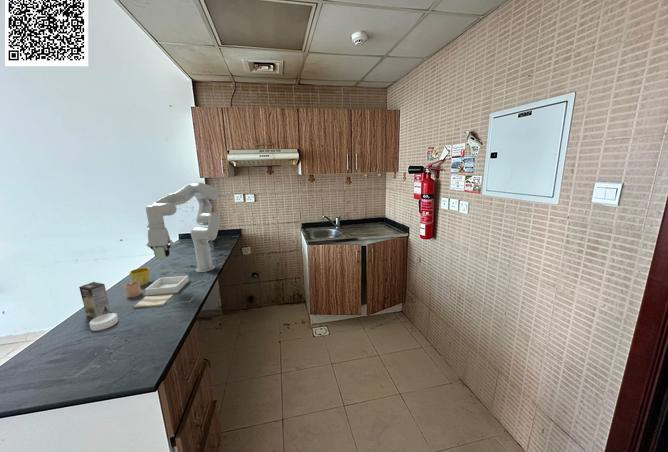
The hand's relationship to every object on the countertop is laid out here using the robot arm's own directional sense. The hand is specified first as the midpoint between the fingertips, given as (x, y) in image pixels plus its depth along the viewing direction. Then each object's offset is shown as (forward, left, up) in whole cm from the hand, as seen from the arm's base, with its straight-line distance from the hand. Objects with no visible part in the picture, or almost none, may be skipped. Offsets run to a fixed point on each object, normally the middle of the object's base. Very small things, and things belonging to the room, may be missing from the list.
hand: (162, 255), depth 156 cm
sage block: (0, 0, -1) cm, 1 cm away
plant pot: (-11, -21, -22) cm, 32 cm away
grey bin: (0, 0, -21) cm, 21 cm away
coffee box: (+25, -22, -22) cm, 40 cm away
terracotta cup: (+6, -16, -21) cm, 27 cm away
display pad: (+16, 0, -21) cm, 27 cm away
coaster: (+36, -12, -22) cm, 44 cm away
